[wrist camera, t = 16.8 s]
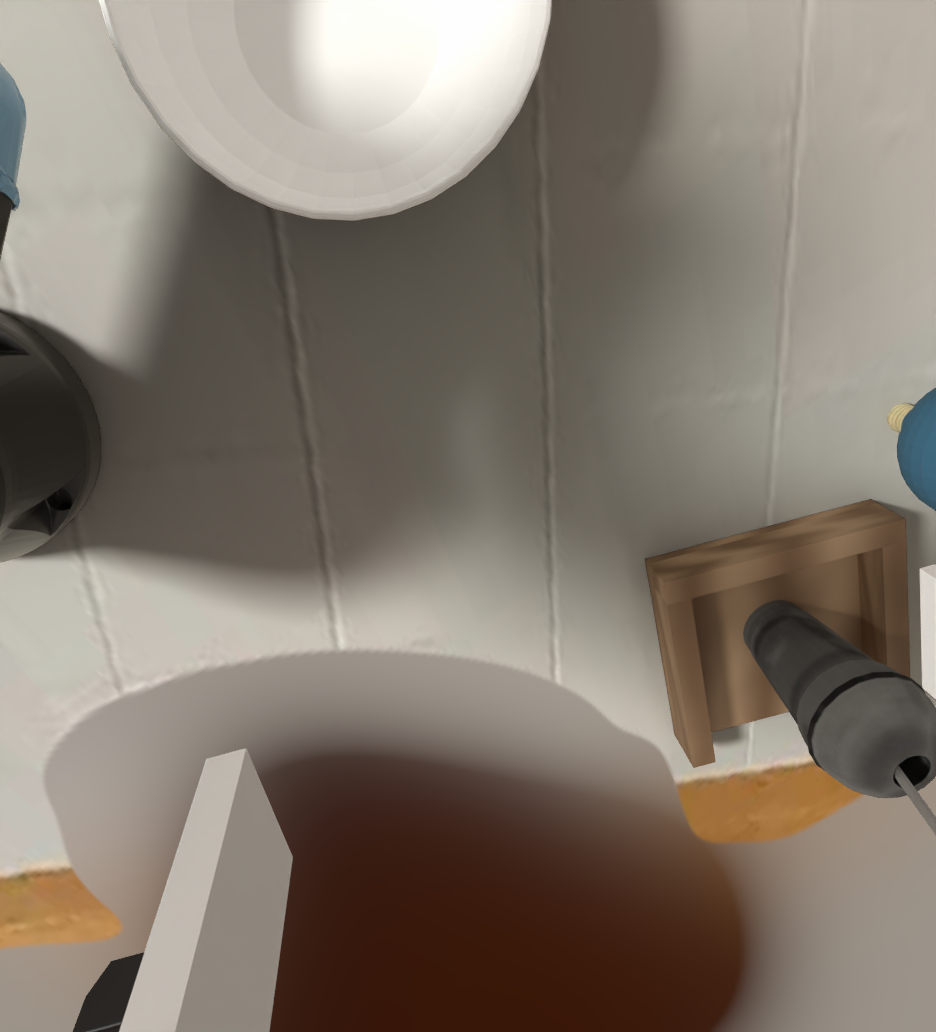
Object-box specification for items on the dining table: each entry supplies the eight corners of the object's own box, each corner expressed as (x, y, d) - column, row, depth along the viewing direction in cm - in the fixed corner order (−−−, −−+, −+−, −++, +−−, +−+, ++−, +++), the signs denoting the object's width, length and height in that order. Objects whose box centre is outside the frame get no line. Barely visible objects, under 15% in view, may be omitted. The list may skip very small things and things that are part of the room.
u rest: (674, 734, 59) (693, 767, 55) (644, 559, 53) (664, 583, 49) (878, 679, 59) (911, 709, 55) (870, 499, 53) (905, 518, 50)
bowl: (228, 259, 44) (193, 268, 35) (84, -150, 37) (0, -255, 28) (553, 170, 44) (592, 159, 36) (471, -254, 37) (497, -387, 29)
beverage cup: (834, 647, 56) (1059, 857, 38) (741, 688, 57) (918, 917, 38) (808, 565, 54) (1035, 748, 35) (710, 609, 54) (884, 813, 35)
